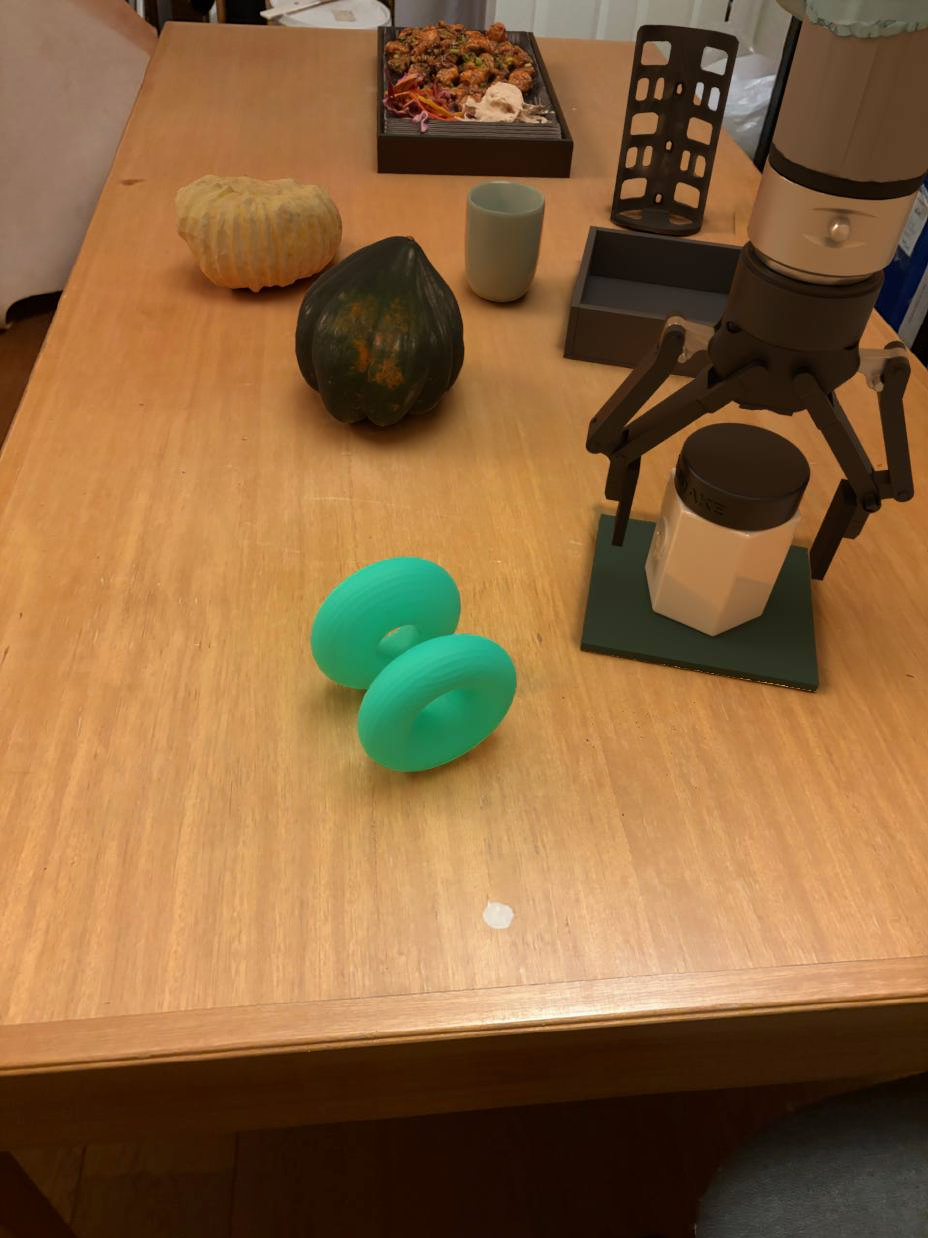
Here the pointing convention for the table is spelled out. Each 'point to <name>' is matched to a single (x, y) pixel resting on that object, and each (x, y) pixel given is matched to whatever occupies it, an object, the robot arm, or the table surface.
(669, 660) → the mat
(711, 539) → the jar
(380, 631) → the donuts
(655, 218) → the holder
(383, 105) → the food platter
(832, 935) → the table surface
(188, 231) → the pale yellow ribbed round
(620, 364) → the tub
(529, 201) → the cup
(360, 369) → the squash
